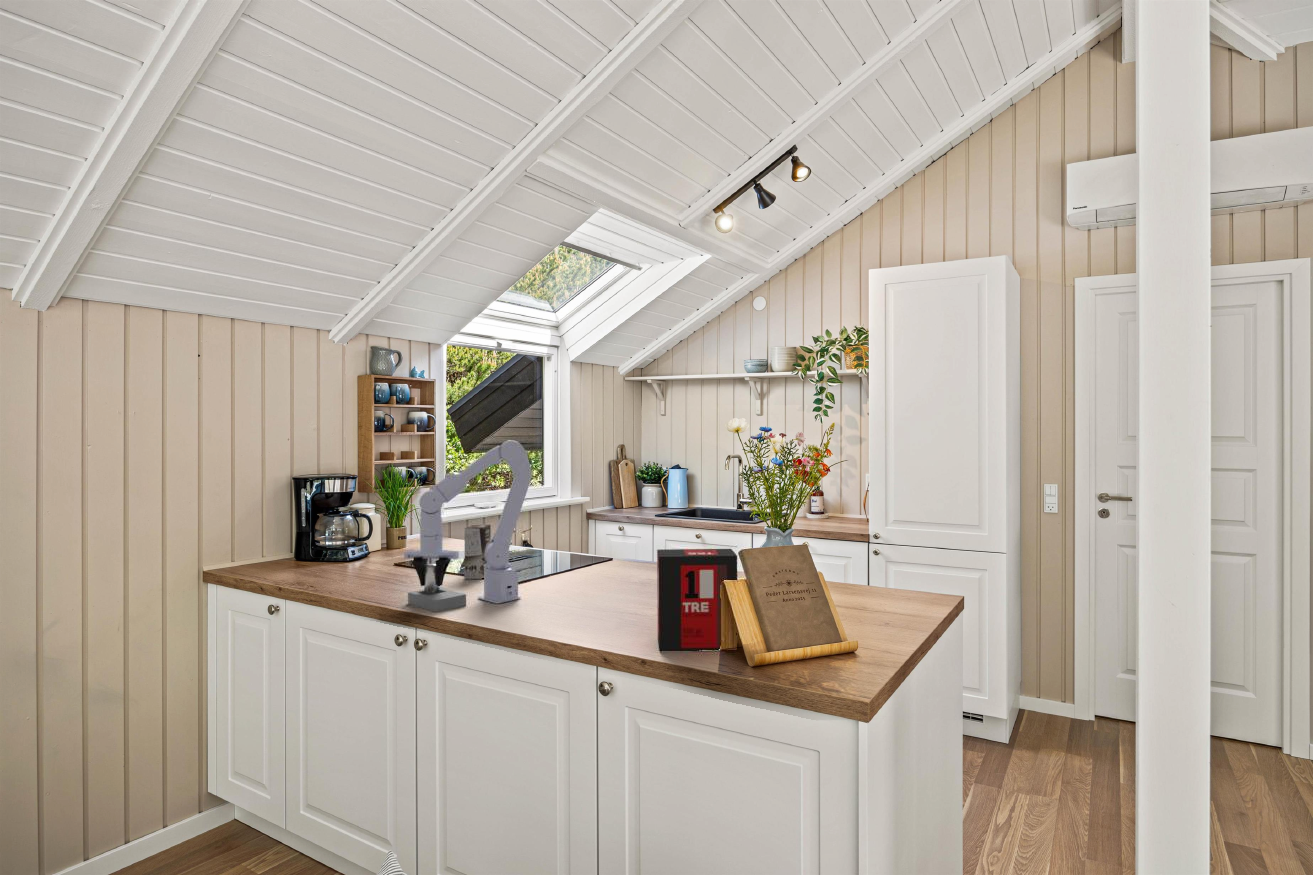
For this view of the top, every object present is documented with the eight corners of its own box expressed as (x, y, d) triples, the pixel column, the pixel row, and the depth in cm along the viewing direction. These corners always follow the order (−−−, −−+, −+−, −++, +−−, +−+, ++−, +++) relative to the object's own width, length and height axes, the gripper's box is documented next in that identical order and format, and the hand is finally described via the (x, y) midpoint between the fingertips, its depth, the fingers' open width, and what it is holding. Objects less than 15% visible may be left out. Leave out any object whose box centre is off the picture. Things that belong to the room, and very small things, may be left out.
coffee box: (484, 579, 220) (483, 527, 220) (464, 579, 220) (463, 527, 220) (491, 573, 229) (491, 524, 229) (472, 573, 229) (471, 524, 229)
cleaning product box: (659, 651, 147) (658, 556, 146) (657, 639, 155) (657, 549, 155) (737, 650, 147) (737, 555, 147) (731, 638, 156) (731, 548, 156)
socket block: (466, 605, 187) (466, 594, 187) (435, 612, 180) (435, 600, 180) (437, 597, 196) (437, 586, 196) (408, 603, 189) (407, 592, 189)
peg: (442, 594, 190) (442, 564, 190) (429, 596, 187) (429, 566, 187) (434, 592, 193) (434, 563, 193) (421, 594, 190) (421, 564, 190)
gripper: (462, 533, 193) (462, 582, 193) (411, 532, 194) (411, 581, 194) (453, 536, 186) (453, 587, 186) (400, 536, 187) (400, 587, 187)
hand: (431, 585), depth 190 cm, fingers closed on peg, 4 cm apart
